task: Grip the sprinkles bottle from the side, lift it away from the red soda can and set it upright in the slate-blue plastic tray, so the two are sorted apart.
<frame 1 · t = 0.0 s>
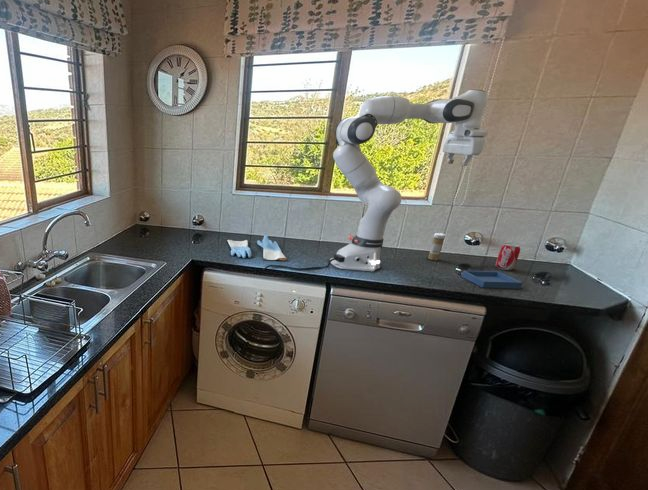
hand: (456, 164, 177), 48 cm above the worktop, tool pointing down, fingers open, 8 cm apart
blue tray: (489, 282, 177), on the worktop
soda can: (503, 269, 193), on the worktop
sprinkles bottle: (432, 259, 206), on the worktop
rubber gloves: (254, 250, 217), on the worktop
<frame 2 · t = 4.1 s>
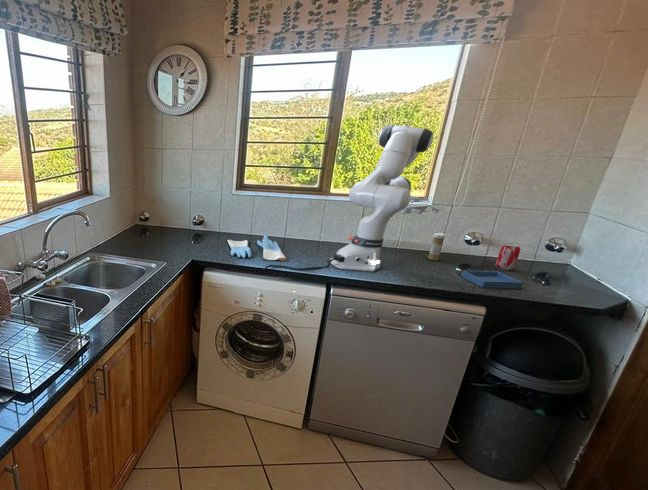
hand: (428, 211, 206), 23 cm above the worktop, tool horizontal, fingers open, 8 cm apart
nothing on the worktop moved.
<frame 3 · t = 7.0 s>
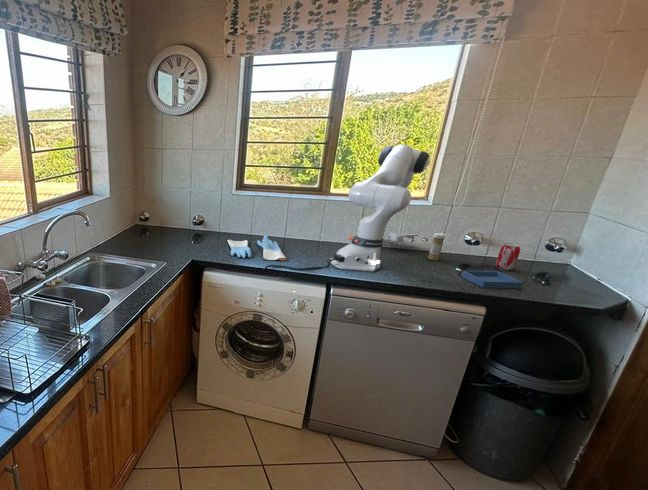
hand: (419, 240, 212), 7 cm above the worktop, tool horizontal, fingers open, 8 cm apart
nothing on the worktop moved.
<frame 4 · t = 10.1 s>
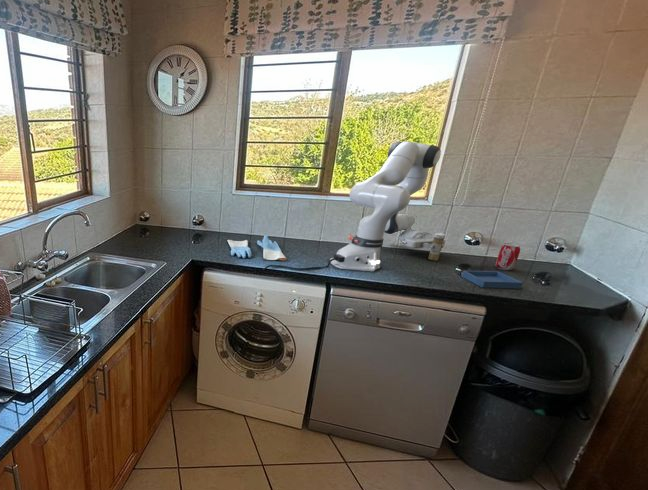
hand: (438, 246, 202), 7 cm above the worktop, tool horizontal, fingers closed on sprinkles bottle, 4 cm apart
sprinkles bottle: (432, 259, 206), on the worktop, touching gripper
everything else where it was.
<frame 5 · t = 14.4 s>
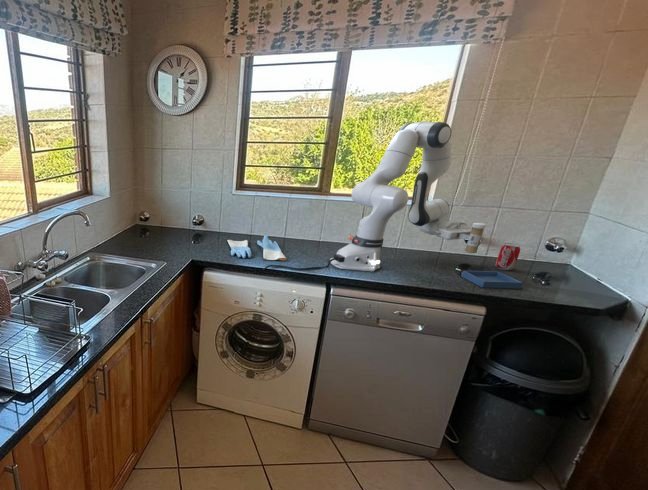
hand: (477, 237, 182), 17 cm above the worktop, tool horizontal, fingers closed on sprinkles bottle, 4 cm apart
sprinkles bottle: (470, 252, 185), point 10 cm above the worktop, touching gripper
everything else where it was.
when the fingers open (8 cm above the worktop, at t = 19.0 s): sprinkles bottle stays where it is, resting on blue tray.
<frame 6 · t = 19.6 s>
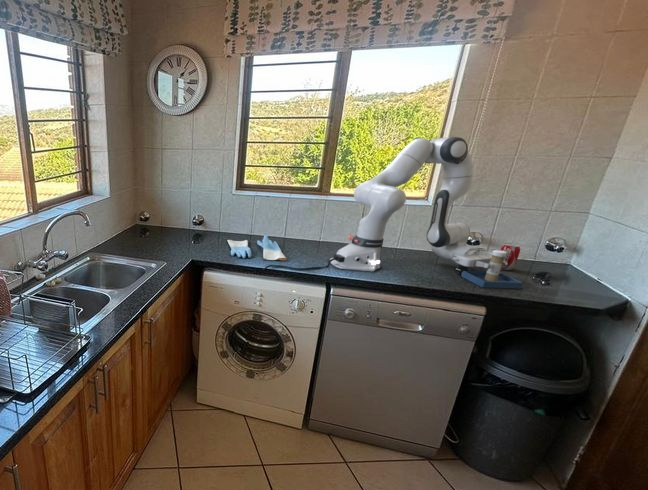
hand: (497, 265, 173), 8 cm above the worktop, tool horizontal, fingers open, 8 cm apart
sprinkles bottle: (490, 280, 176), point 1 cm above the worktop, touching blue tray
everything else where it was.
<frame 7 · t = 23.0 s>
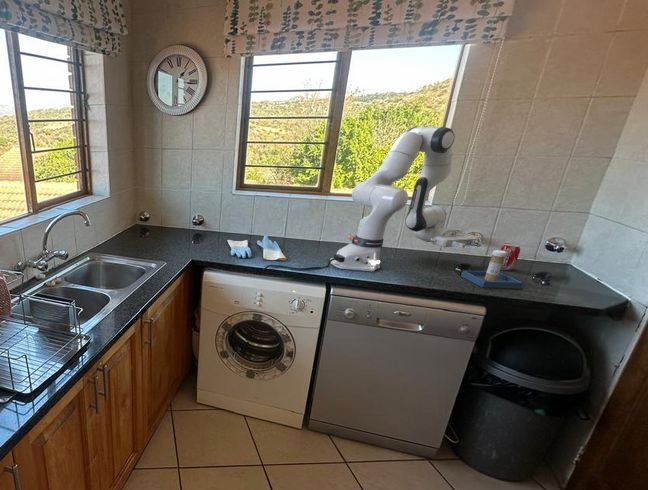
hand: (472, 245, 183), 13 cm above the worktop, tool horizontal, fingers open, 8 cm apart
nothing on the worktop moved.
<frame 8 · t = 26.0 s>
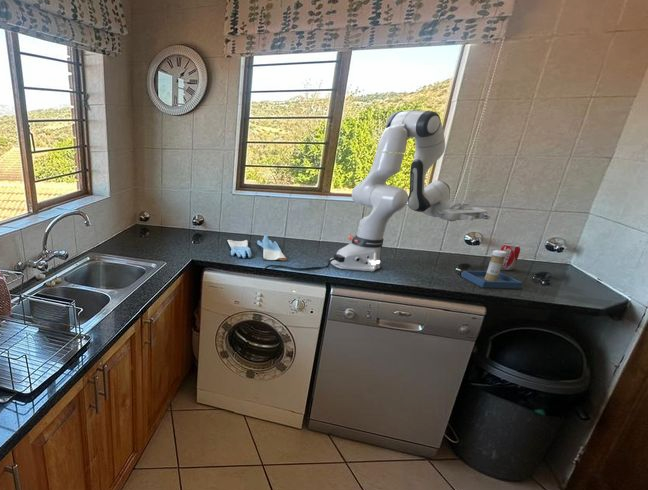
hand: (480, 218, 178), 26 cm above the worktop, tool horizontal, fingers open, 8 cm apart
nothing on the worktop moved.
at the end: sprinkles bottle inside the target area in the blue tray (0.1 cm from its centre), point 0.6 cm above the blue tray's base; sprinkles bottle tilted 0°; the gripper is holding nothing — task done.
